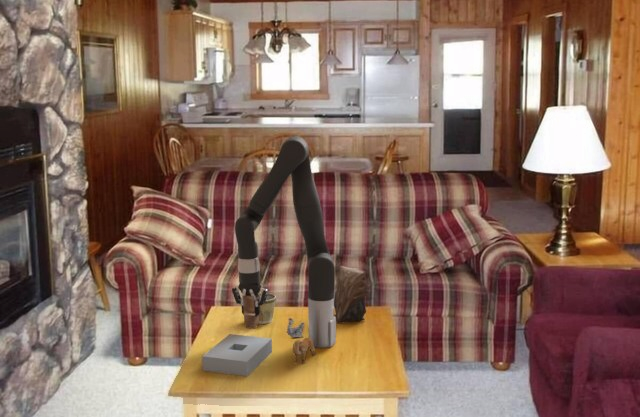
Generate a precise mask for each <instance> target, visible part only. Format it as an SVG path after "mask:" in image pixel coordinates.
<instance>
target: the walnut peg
mask: <svg viewBox="0 0 640 417" xmlns="http://www.w3.org/2000/svg"><path fill="white" fill-rule="evenodd" d="M255 297H257V296H255ZM243 307H244V315H243V320H244V321H243V324H244V325H245V328H246V329H256V327H258V322H259V316H255V303H254V296H247V295H246V296H243Z"/></svg>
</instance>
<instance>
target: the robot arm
mask: <svg viewBox="0 0 640 417" xmlns="http://www.w3.org/2000/svg"><path fill="white" fill-rule="evenodd" d="M310 159H311V158H310V149H309V144H308V143H307V141H306V140H305V139H304V138H302V137H301V136H297V135H294V136H290V137H289V138H287V139H286V140H285V141H283V142H282V144H281V146H280V149H279V153H278V154H277V157H276V160H275V162H274V164H273V166H272V167H271V169H270V171H269V172H268V174H267V175H266V177H265V178H264V180H263V181H262V182H261V184H260V185H259V186H258V188H257V190H256V191H255V192H254V194H253V196H252V197H251V199H249V200H250V201H249V203H248V205H247V207H246V209H245V210H244V212H243V213H242V215H241V216H239V217H238V218H237V219H236V220H235V223H234V234H235V238H236V239H235V240H236V243H237V252H238V253H237V254H238V257H237V258H238V262H237V270H238V284H239V285H238V286H233V287H232V288H231V292H232V294H233V297H234V301H235V303H236V304H239V305H240V306H241V313H242V315H243V316H244V307H243V296H246V295H247V296H254V303H255V316H259V314H260V313H261V310H260V306H261V305H263V304H264V303H265V301H266V298H267V294H268V293H269V290H270V289H269V288H264V287H262V285H261V276H260V275H261V271H260V269H261V268H260V260H259V248H258V246H259V245H258V243H257V241H256V238H255V232H256V230H257V229H258V227H259V226H260V223H261V222H262V220H263V218H265V215H266V213H267V212H268V211H269V209H270V207H271V206H272V204H273V203H274V202H275V200H276V198H277V196H278V195H279V193H280V192H281V189H282V187H283V185H284V184H285V183H286V181H287V179H288V178H289V177H290V176H291V186H292V192H291V193H292V203H293V204H292V205H293V208H294V209H293V210H294V213H295V217H296V221H297V224H298V227H299V229H300V232H301V235H302V237H303V240H304V243H305V249H306V250H305V251H306V258H307V259H306V260H307V269H308V270H307V271H308V277H307V278H308V287H307V288H308V290H307V292H308V293H307V297H308V298H307V307H308V309H307V310H308V312H307V313H308V317H307V318H308V320H307V321H308V338H311V339H312V341H313V347H314V348H320V349H321V348H322V349H323V348H333V346H334V345H335V343H337V321H336V316H335V308H334V299H335V291H336V290H335V289H336V288H335V287H336V284H335V282H336V281H335V279H336V271H335V270H336V268H335V264H334V261H333V258H332V254H330V250H329V248H328V245H327V244H328V243H327V240H326V237H325V226H324V225H325V224H324V215H323V210H322V205H321V202H320V201H321V200H320V197H319V193H318V190H317V186H316V183H315V180H314V176H313V173H312V166H311V160H310ZM240 293H241V294H240ZM258 293H261V294H262V297H261V300H260V299H259V298H260V297H259V294H258ZM255 296H257V297H255Z"/></svg>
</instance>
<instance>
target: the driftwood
mask: <svg viewBox="0 0 640 417" xmlns="http://www.w3.org/2000/svg"><path fill="white" fill-rule="evenodd" d="M302 321H303V320H300V322H301V323H300V324H299V325H298V326H296V327H293V326H292V325H293V324H294V322H295V321H294V319H293V318H292V317H289V318H288V326H287V328H286V334H287V335H288V336H290V337H291V339H292V338H304V336H303V331H304V329H303V328H304V326H305V322H302Z"/></svg>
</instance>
